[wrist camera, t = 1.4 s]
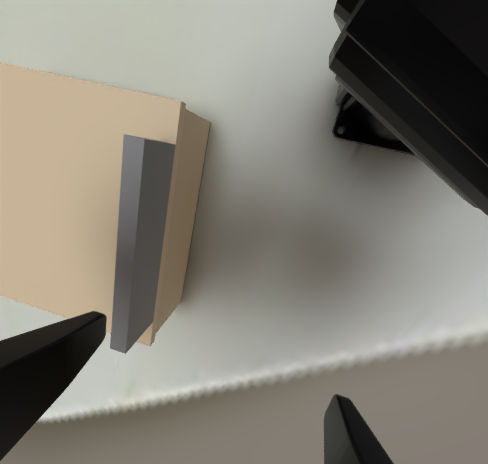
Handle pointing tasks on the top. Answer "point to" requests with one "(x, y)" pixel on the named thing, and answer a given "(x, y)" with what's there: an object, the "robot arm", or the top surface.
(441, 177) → the robot arm
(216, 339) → the top surface
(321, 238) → the top surface
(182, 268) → the mailer box
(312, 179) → the top surface
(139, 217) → the lid
